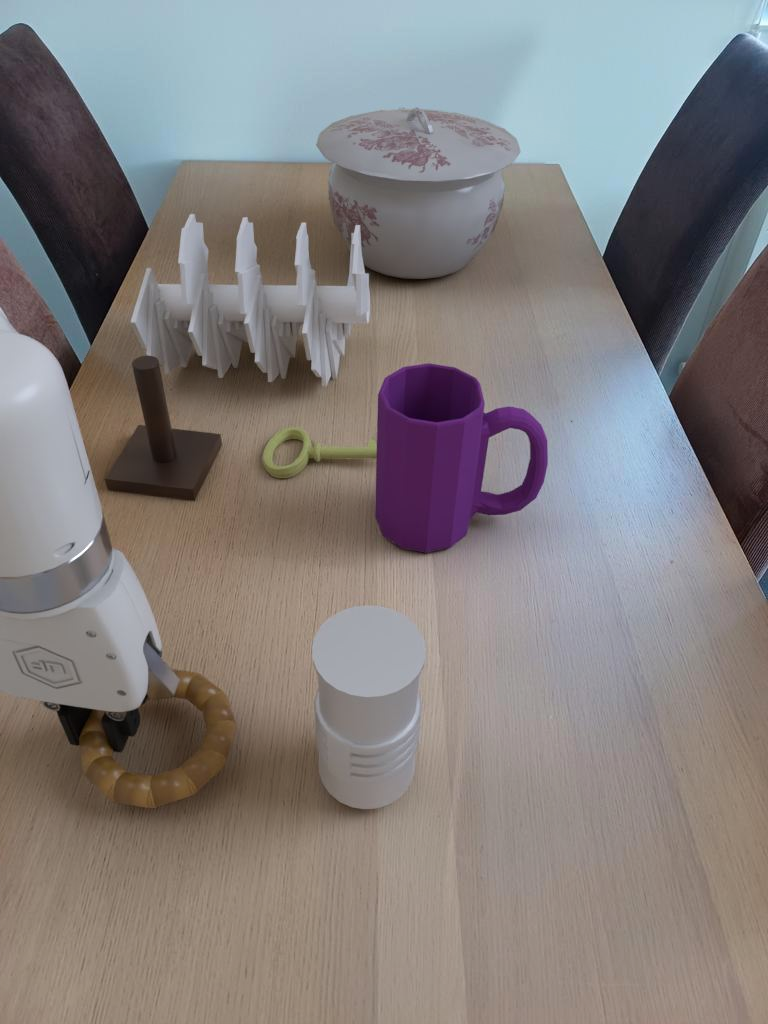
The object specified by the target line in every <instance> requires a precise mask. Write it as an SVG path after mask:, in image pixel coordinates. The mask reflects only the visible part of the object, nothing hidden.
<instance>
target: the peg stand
mask: <svg viewBox="0 0 768 1024" xmlns="http://www.w3.org/2000/svg"><path fill="white" fill-rule="evenodd" d="M131 367H132V371H133V375H134V380H135V384H136V390H137V395H138V398H139V402H140V408H141V412H142V416H143V421H144V424H138V425H137V426H136V428H135V429H134V432H133V433H132V434H131V436H130V438H129V439H128V441H127V442H126V443H125V445H124V447H123V448H122V450H121V452H120V453H119V454H118V456H117V458H116V460H115V461H114V463H113V464H112V466H111V468H110V469H109V471H108V472H107V474H106V475H105V477H104V482H105V486H106V489H107V491H113V492H121V493H128V494H139V495H146V496H153V497H154V496H155V497H162V498H171V499H177V500H179V499H180V500H186V501H196V499H197V497H198V495H199V493H200V491H201V489H202V487H203V485H204V483H205V481H206V479H207V477H208V475H209V473H210V471H211V469H212V467H213V465H214V463H215V460H216V459H217V456H218V454H219V452H220V450H221V448H222V446H223V442H222V435H221V433H216V432H214V433H213V432H208V431H207V432H206V431H198V430H197V431H196V430H190V429H189V430H187V429H179V428H173V427H172V423H171V418H170V412H169V408H168V402H167V397H166V392H165V387H164V382H163V376H162V371H161V365H159V361H158V359H157V358H156V357H154V356H148V355H147V356H146V355H140V356H138V357H135V359H133V360H132V362H131Z"/></svg>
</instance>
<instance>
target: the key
mask: <svg viewBox="0 0 768 1024" xmlns="http://www.w3.org/2000/svg"><path fill="white" fill-rule="evenodd" d="M293 439H294V440H300V441H301V442H303V447H302V449H301V452H300V454H299V456H298V457H297V458H296V459H295V460H293V462H292V463H290V464H287V465H277V464H276V465H275V463H274V461H273V456H274V453H275V450H276V449H277V448H278V447H279V445H281V444H282V443H284V442H285V441H288V440H293ZM376 456H377V441H376V440H375V439H372V438H369V440H368V444H367V446H322V444H321V443H320V442H316V443H315V444H314V446H312V440H311V438H310V435H309V433H308V432H307V431H306V430H305V429H303V428H301V427H297V426H295V427H294V426H291V427H287V428H283V429H281V430H279V431H278V432H277V433H275V434H274V435H273V436H272V437H271V438H270V440H268V442H267V443H266V446H265V448H264V451H263V454H262V464H263V466H264V468H265V470H266V471H267V472H268V474H269V475H270V476H272V477H274V478H277V479H289V478H292V477H295V476H296V475H298V474H299V473H300V472H302V471H303V470H304V469H305V467H306V466H307V464H308V462H309V460H310V459H314V460H315V462H318V463H319V462H321V461H322V459H357V460H358V459H359V460H360V459H361V460H362V459H364V460H365V459H367V460H369V459H370V460H373V459H374V460H376Z"/></svg>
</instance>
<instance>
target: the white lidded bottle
mask: <svg viewBox="0 0 768 1024" xmlns="http://www.w3.org/2000/svg"><path fill="white" fill-rule="evenodd" d="M311 656H312V657H311V659H312V665H313V667H314V671H315V672H316V675H317V684H318V685H317V687H318V688H317V689H316V693H315V696H314V701H313V707H314V724H315V725H314V726H315V742H316V749H317V752H318V761H317V762H318V774H319V778H320V780H321V782H322V785H323V787H324V788H325V789H326V791H327V792H328V794H329V795H330V796H332V798H334V799H335V800H336V801H338V802H339V803H341V804H343V805H346V806H348V807H350V808H352V809H353V808H354V809H358V810H359V809H360V810H375V809H381V808H382V807H385V806H389V805H391V804H392V803H394V802H396V801H397V800H398V799H400V798H401V797H402V796H403V795H404V794H405V793H406V791H407V790H408V789H409V788H410V786H411V783H412V782H413V779H414V778H415V769H416V753H417V751H418V745H419V739H420V730H421V729H420V728H421V726H420V725H421V719H422V710H423V704H422V698H421V693H420V691H419V687H420V676H421V674H422V672H423V670H424V668H425V665H426V664H425V663H426V657H427V647H426V641H425V638H424V636H423V634H422V632H421V630H420V628H419V627H418V626H417V625H416V624H415V623H414V622H413V621H412V620H411V619H410V618H409V617H407V616H406V615H404V614H402V613H401V612H400V611H397V610H394V609H392V608H389V607H386V606H379V605H372V604H367V605H366V604H365V605H356V606H353V607H349V608H344V609H342V610H340V611H339V612H337V613H334V614H333V615H331V616H330V617H329V618H328V619H326V620H325V621H324V622H323V623H322V624H321V625H320V627H319V628H318V630H317V631H316V633H315V634H314V638H313V641H312V644H311Z"/></svg>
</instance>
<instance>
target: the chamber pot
mask: <svg viewBox="0 0 768 1024" xmlns="http://www.w3.org/2000/svg"><path fill="white" fill-rule="evenodd" d="M316 147H317V149H318V150H319V152H320V154H321V155H322V156H323V158H325V160H328V161H329V162H331V163H333V164H332V166H331V168H330V171H329V175H328V180H327V183H328V184H327V185H328V202H329V206H330V211H331V215H332V219H333V224H334V226H335V228H336V230H337V231H338V233H339V235H340V237H341V238H342V239H343V241H344V242H345V244H346V246H347V247H348V248H349V249H348V250H350V251H351V233H354V231H355V226H356V225H360V232H361V250H362V258H363V264H364V267H366V268H368V269H369V270H371V271H374V272H376V273H378V274H381V275H384V276H388V277H392V278H393V277H394V278H398V279H406V280H407V279H408V280H425V279H434V278H442V277H445V276H448V275H451V274H455V273H457V272H458V271H460V270H462V269H463V268H465V267H466V266H468V265H469V264H471V263H472V261H473V260H474V259H475V258H476V256H477V255H478V254H479V252H480V251H481V250H482V249H483V248H484V247H485V245H486V243H487V242H488V241H489V240H490V238H491V236H492V235H493V233H494V232H495V230H496V226H497V224H498V220H499V217H500V215H501V212H502V208H503V206H504V199H505V190H506V183H505V179H504V175H503V173H502V170H504V169H505V168H507V167H509V166H511V165H512V164H514V163H515V161H516V160H517V158H518V157H519V155H520V154H521V152H522V151H521V147H520V144H519V141H518V139H517V138H516V137H515V136H514V135H513V134H512V133H510V132H509V131H508V130H507V129H505V128H504V127H502V126H500V125H497V124H495V123H492V122H490V121H488V120H486V119H482V118H478V117H476V116H470V115H467V114H463V113H459V112H454V111H446V110H439V109H432V108H419V107H414V108H405V107H398V108H394V109H393V108H392V109H380V110H379V109H378V110H375V111H369V112H364V113H359V114H354V115H349V116H347V117H344V118H342V119H340V120H336V121H334V122H331V124H329V125H328V126H326V127H325V128H324V129H323V130H322V131H320V132H319V134H318V136H317V141H316Z"/></svg>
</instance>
